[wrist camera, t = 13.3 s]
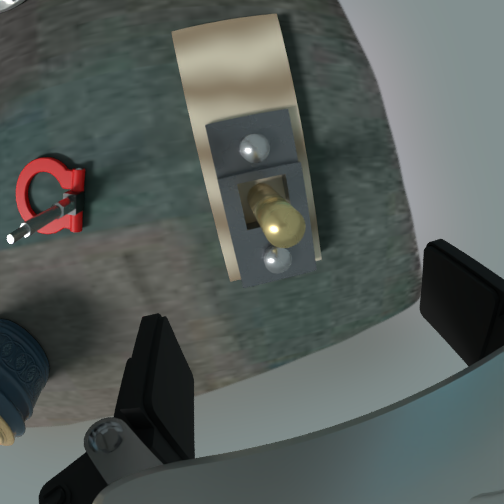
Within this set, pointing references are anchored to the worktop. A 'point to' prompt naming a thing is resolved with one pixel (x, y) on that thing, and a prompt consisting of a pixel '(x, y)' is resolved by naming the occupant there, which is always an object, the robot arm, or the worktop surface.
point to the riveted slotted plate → (254, 168)
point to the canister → (19, 379)
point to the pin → (276, 216)
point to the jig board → (238, 101)
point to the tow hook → (61, 212)
